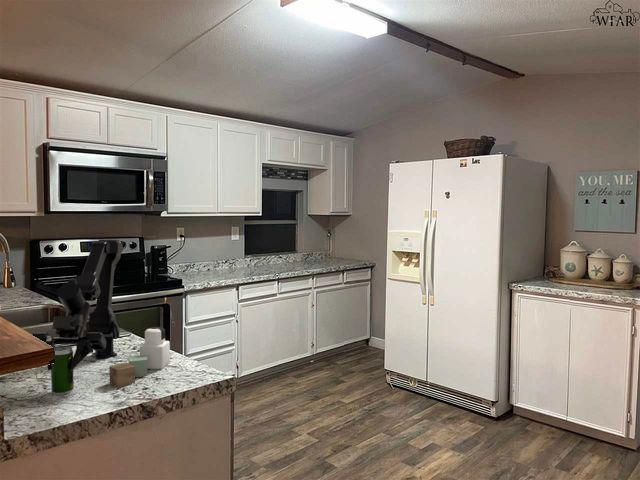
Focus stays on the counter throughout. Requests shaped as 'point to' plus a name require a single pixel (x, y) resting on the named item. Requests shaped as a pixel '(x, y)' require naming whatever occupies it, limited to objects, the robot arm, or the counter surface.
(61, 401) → the counter surface
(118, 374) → the walnut block
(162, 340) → the medicine bottle
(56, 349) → the beer can
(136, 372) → the sage block
